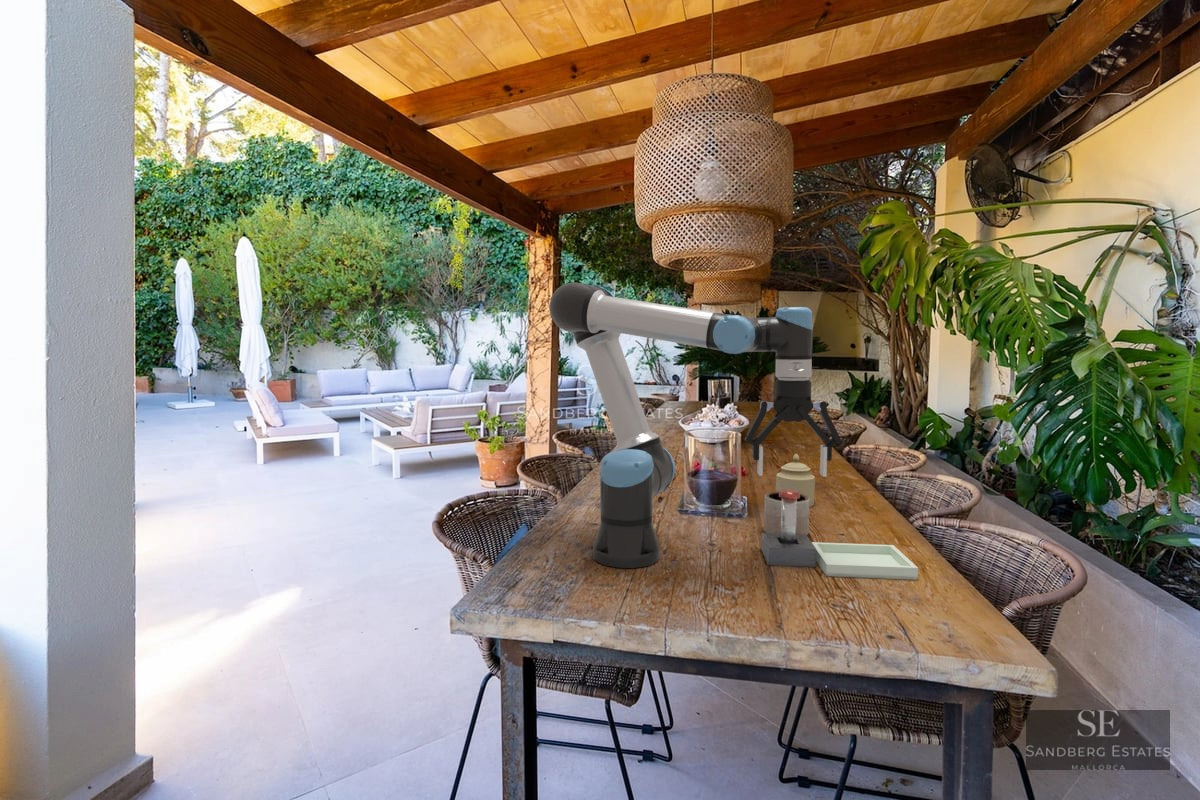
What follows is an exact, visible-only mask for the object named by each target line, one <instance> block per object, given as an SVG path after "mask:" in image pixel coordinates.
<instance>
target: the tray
mask: <svg viewBox="0 0 1200 800" xmlns="http://www.w3.org/2000/svg"><path fill="white" fill-rule="evenodd" d="M811 542H812V544H813V545H814V546H815V548H816V564H818V565H819V567H820V569H821V570H822V572H823V573H824V575H825V576H826V577H835V578H837V577H838V578H862V579H863V578H864V579H867V578H868V579H888V580H891V579H892V580H910V581H911V580H912V581H917V580H919V579H918V577H919V567H918V566H917V565H915V563H913V561H911V560H910V559H909V558H908V557H907V556H906V555H905V554H904V553H903V552H901V551H900V550H899V549H898V548H897V546H895V545H894V544H875V543H874V544H870V543H844V542H843V543H841V542H840V543H839V542H837V543H836V542H817V541H815V542H814V541H811Z"/></svg>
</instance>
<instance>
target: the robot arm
mask: <svg viewBox="0 0 1200 800" xmlns="http://www.w3.org/2000/svg"><path fill="white" fill-rule="evenodd" d="M549 313H550V317H551V319H552V321H553V323H554V324H555V325H556V326H557V327H558V328H559V329H561V330H563V331H565V332H568V333H572V335H573V337H574V340H575V343H576V346H577V347H578V348H580V349H582V350H584V351H585V353H586V356H587V359H588V362H589V365H590V367H591V370H592V374H593V375H594V379H595V382H596V385H597V387H598V390H599V393H600V396H601V399H602V402H603V404H604V408H605V411H606V413H607V416H608V419H609V423H610V425H611V428H612V431H613V433H614V436H615V440H616V446H615V447H614V450H613V451H611V452H609V453H607V454H605V455H604V456H603V457H602V459H601V462H600V469H599V478H600V480H599V485H600V486H599V488H600V490H599V491H600V508H599V509H600V523H599V525H598V526H599V527H598V529H597V533H596V536H595V539H594V541H593V545H592V558H593V559H594V561H596V562H597V563H599V564H601V565H603V566H606V567H607V566H608V567H611V568H612V567H613V568H618V569H636V568H643V567H648V566H651V565H653V564H655V563H657V562H659V560H660V559H661V555H660V554H661V549H660V544H659V541H658V538H657V537H658V536H657V535H656V531H655V527H654V524H653V499H654V498H655V497H657V496H658V495H660V494H662V493H663V492H665V491H666V490H667V488H669V486H670V484H671V483H672V481H673V480H674V477H675V473H676V465H675V461H674V457H673V456H672V454H671V453H670V452H669V450H667V449H666V448H665V447H664V446H663V444H662V441H661V438H660V436H659V435H658V434H657V433H654V432H652V430H651V428H650V426H649V423H648V419H647V418H646V414H645V412H644V409H643V406H642V403H641V400H640V398H639V397H640V396H639V394H638V392H637V388H636V386H635V382H634V380H633V377H632V375H631V371H630V368H629V366H628V362H627V360H626V357H625V353H624V352H623V349H622V346H621V343H620V340H619V339H620V336H621V334H624V335H630V336H636V337H642V338H645V339H647V338H648V339H654V340H660V341H665V342H670V343H676V344H682V345H688V346H693V347H699V348H706V349H710V350H715V351H720V352H723V353H726V354H731V355H732V354H733V355H740V354H741V353H742V354H743V353H754V352H755V353H756V352H758V353H760V352H763V353H764V352H770V353H771V352H775V377H776V378H777V379H776V381H775V382H774V383H775V384H774V399H773V402H771V401H766V400H760V403H759V410H758V412H757V414H756V415H755V417H754V420H753V422H752V423H751V425H750V427H749V429H748V430H747V432H746V434H745V437H744V442H745V443H747V444H751V445H752V458H753V460H754V461H756V462H757V467H756V469H757V470H756V471H757V472H756V473H757V475H758V476H760V477H761V476H764V475H763V474H764V470H763V468H764V466H763V465H764V446H763V445H762V444H761V443H763V441H764V440H765V439H766V438H767V437H768V436H769V435H770V433H772V431H774V429H775V428H776V427H777V426H778V425H779V424H780V423H781V422H782V421H784V422H786V423H790V422H796V423H801V422H802V421H804V422H805V423H806V424H807V425H808V426H809V428H810V429H812V431H813V432H814V433H815V434H816V436H817V437H819V439H820V440H821V441H822V443H823V444H821V445H820V451H819V454H820V456H819V462H820V463H819V475H820V476H821V477H823V478H824V477H828V476H827V474H828V473H827V471H828V468H827V467H828V462H831V461H832V459H833V458H832V457H833V456H832V455H833V447H834V446H835V445H839V444H842V439H841V437H840V435H839V433H838V430H837V428H836V427H835V425H834V422H833V421H832V419H831V417H830V416H831V415H829V412H828V408H827V407H828V404H827V402H826V401H825V400H822V399H821V400H819V401H814V402H813V401H812V381H811V380H810V379H809V378H811V377H813V376H812V372H813V371H812V369H813V367H812V361H813V360H812V359H813V357H812V356H813V339H814V338H813V335H814V328H813V327H814V326H813V312H812V310H811V309H810V308H809V307H805V306H797V307H795V306H793V307H792V306H791V307H779V308H778V309H776V313H775V316H771V317H745V316H743V315H739V314H727V313H720V312H714V311H707V310H703V309H696V308H695V309H694V308H689V307H681V306H677V305H676V306H675V305H668V304H661V303H657V302H649V301H642V300H636V299H631V298H630V299H629V298H624V297H615V295H614V294H613V293H612V292H611V291H610V290H608V289H606V288H604V287H602V286H599V285H596V284H585V283H581V282H569V283H564V284H562V285H561V286H559V287H558V288H557V289H556V290H555V291H554V293H552V296H551V298H550V301H549ZM771 408H773V410H774V411H775V412H776V413H775V414H774V415H773V416H772V418H771V419H770V421H769V422H768V423H767V424H766V425H765V426H764V427H763V429H761V431H760V432H759V433H758V434H757V432H758V429H759V428H760V426H761V423H762V422H763V420H764V418H765V416H766V414H767V412H769V411H770V410H771ZM813 408H814V409H815V411H816V412H818V413H819V416H820V417H821V419H822V421H823V423H824V425H825V428H826V430H827V431H828V433H829V435H830V437H831V438H829V437H828V436H827V434H826V433H825V432H824V431H823V430H822V428H820V426H819V425H818V424H817V423H816V421H814V419H813V418H812V416H811V415H810V412H811V411H812V410H813ZM755 434H757V435H756V436H755Z"/></svg>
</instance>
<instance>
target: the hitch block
mask: <svg viewBox="0 0 1200 800" xmlns="http://www.w3.org/2000/svg"><path fill="white" fill-rule="evenodd" d="M780 539H781V533H766V532H761V543H760V544H761V547H760V548H761V552H762V555H763V557H764V559H765V562H766V564H767V566H779V567H801V568H802V567H807V568H816V566H817V561H816V548H815V546H814V545H813V544H812V542H813V541H811V539H810V538H809V537H808V535H806V534H796V539H795V544H783V543H780Z"/></svg>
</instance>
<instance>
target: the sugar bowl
mask: <svg viewBox="0 0 1200 800" xmlns="http://www.w3.org/2000/svg"><path fill="white" fill-rule="evenodd" d="M792 460H793V461H792V462H789V463H786V464H784V465H782V466H781V471H780V472H777V473H776V476H775V477H776V478H775V492H777V491H779V490H782V489H792V490H797V491H799V492H800V494H803V495H806V496H808V497H809V508H810V507H813V506H814V504H815V489H816V488H815V487H816V477H815V475H813V474H812V473H811V472H810V470H811V467H809V466H808V465H807V464H805V463H802V462H799V461H800V460H801V459H800V456H799V454H798V453H795V454H794V455H793V457H792Z"/></svg>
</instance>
